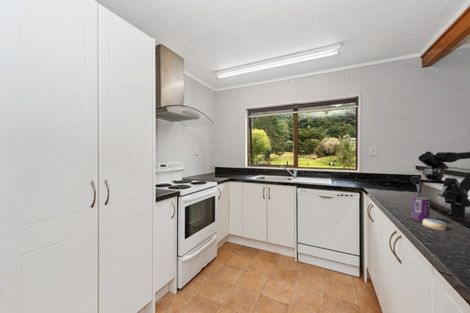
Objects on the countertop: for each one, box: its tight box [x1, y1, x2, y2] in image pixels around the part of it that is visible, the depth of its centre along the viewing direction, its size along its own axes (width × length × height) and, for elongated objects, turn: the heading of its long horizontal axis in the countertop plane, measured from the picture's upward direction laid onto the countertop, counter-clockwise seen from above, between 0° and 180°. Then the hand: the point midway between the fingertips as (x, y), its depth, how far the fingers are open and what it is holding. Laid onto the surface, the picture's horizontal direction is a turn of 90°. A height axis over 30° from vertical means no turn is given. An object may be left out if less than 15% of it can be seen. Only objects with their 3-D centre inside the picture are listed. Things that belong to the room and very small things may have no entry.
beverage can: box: [410, 196, 431, 223], centre depth 105 cm, size 7×7×12 cm
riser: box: [422, 218, 447, 231], centre depth 95 cm, size 8×8×3 cm
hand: (429, 194), depth 107 cm, fingers open, 9 cm apart
